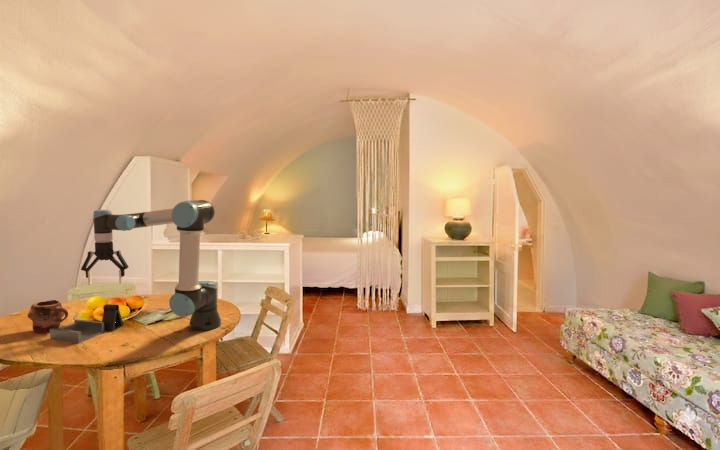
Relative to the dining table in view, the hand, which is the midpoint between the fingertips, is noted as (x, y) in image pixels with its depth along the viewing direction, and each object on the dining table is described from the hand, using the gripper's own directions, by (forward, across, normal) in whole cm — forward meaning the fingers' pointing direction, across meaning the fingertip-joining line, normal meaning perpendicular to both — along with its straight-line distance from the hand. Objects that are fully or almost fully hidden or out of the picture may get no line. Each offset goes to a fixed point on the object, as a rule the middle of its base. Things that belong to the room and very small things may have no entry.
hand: (105, 283), depth 201 cm
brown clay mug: (+22, +25, 0) cm, 34 cm away
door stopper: (+22, -3, +3) cm, 23 cm away
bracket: (+22, +9, +10) cm, 26 cm away
